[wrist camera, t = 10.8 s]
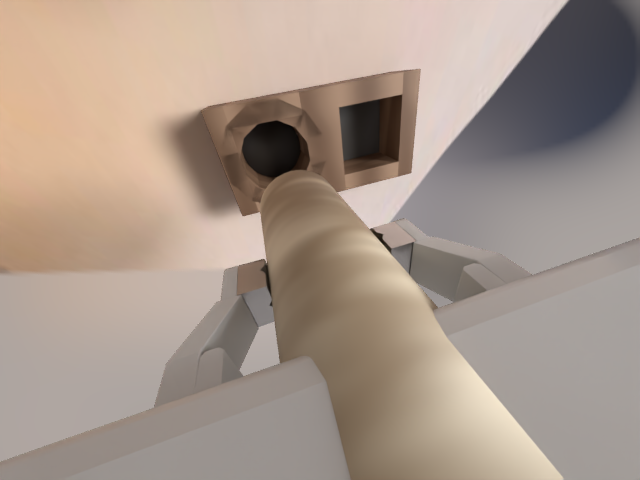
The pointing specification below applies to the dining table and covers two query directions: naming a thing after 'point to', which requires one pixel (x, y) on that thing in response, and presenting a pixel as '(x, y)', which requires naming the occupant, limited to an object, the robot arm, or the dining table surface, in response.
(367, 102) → the bit block
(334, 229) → the oak dowel
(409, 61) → the dining table surface
